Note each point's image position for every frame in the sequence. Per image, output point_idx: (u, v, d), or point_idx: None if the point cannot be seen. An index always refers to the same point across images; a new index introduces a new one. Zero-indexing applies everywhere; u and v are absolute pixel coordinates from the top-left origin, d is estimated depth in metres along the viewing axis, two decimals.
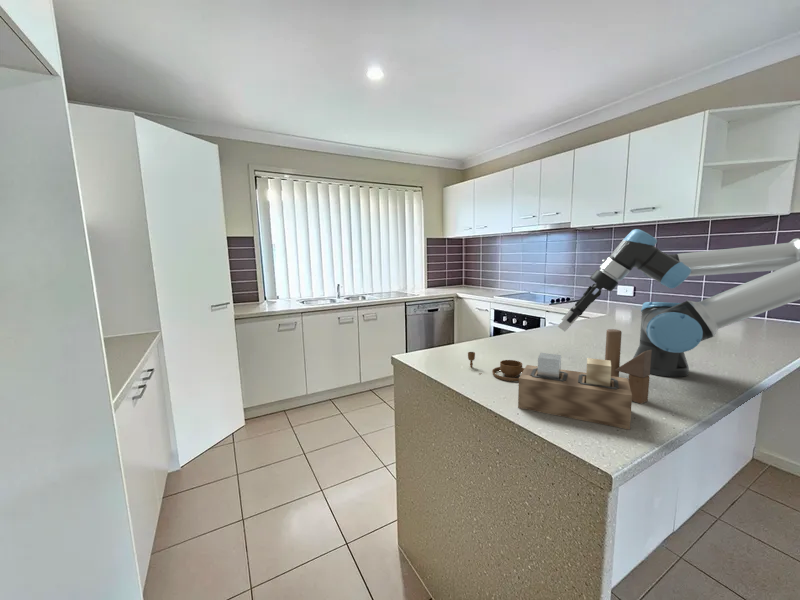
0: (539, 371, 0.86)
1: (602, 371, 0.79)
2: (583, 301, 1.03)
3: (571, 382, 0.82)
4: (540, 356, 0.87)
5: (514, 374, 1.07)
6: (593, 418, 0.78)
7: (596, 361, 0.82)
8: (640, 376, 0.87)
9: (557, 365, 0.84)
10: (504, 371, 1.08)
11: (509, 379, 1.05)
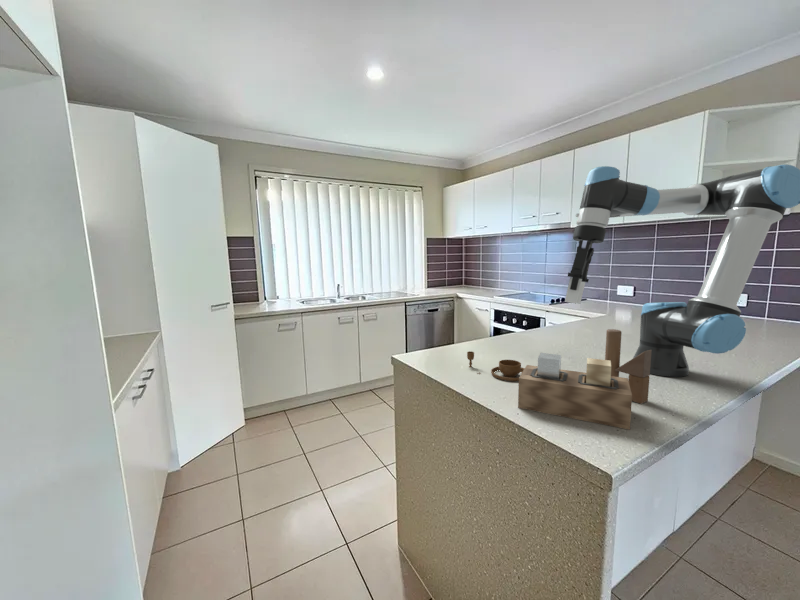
0: (539, 371, 0.86)
1: (602, 371, 0.79)
2: (576, 258, 0.85)
3: (571, 382, 0.82)
4: (540, 356, 0.87)
5: (513, 374, 1.07)
6: (593, 418, 0.78)
7: (596, 361, 0.82)
8: (640, 376, 0.87)
9: (557, 365, 0.84)
10: (503, 371, 1.08)
11: (507, 379, 1.05)
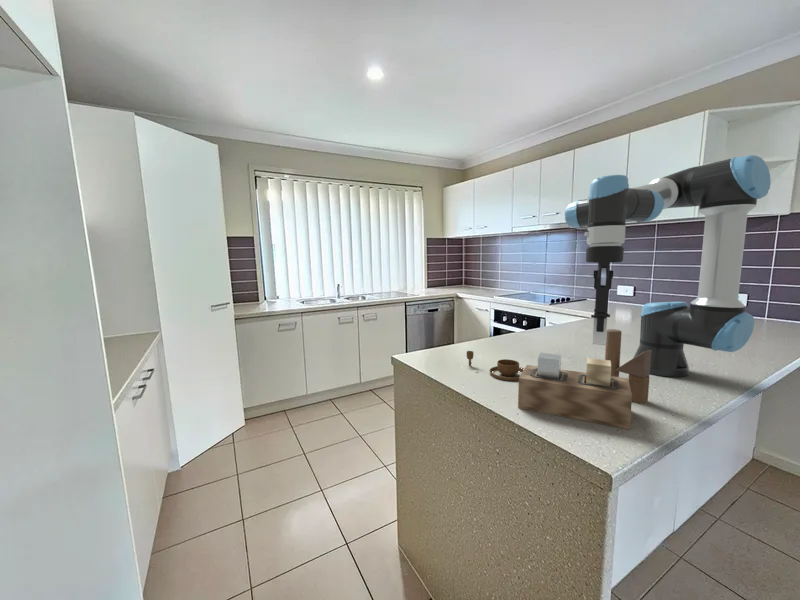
0: (539, 371, 0.86)
1: (602, 371, 0.79)
2: (597, 300, 0.76)
3: (571, 382, 0.82)
4: (540, 356, 0.87)
5: (510, 373, 1.08)
6: (593, 418, 0.78)
7: (596, 361, 0.82)
8: (640, 376, 0.87)
9: (557, 365, 0.84)
10: (501, 370, 1.09)
11: (505, 378, 1.06)
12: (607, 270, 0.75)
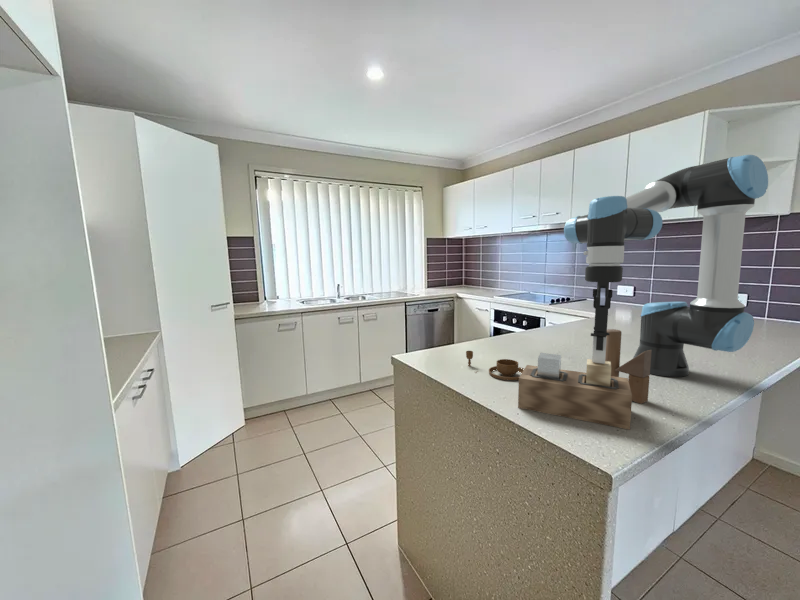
0: (539, 371, 0.86)
1: (602, 373, 0.79)
2: (597, 319, 0.76)
3: (571, 382, 0.82)
4: (540, 356, 0.87)
5: (509, 373, 1.08)
6: (593, 418, 0.78)
7: None
8: (640, 376, 0.87)
9: (557, 365, 0.84)
10: (500, 370, 1.09)
11: (504, 378, 1.06)
12: (606, 290, 0.75)
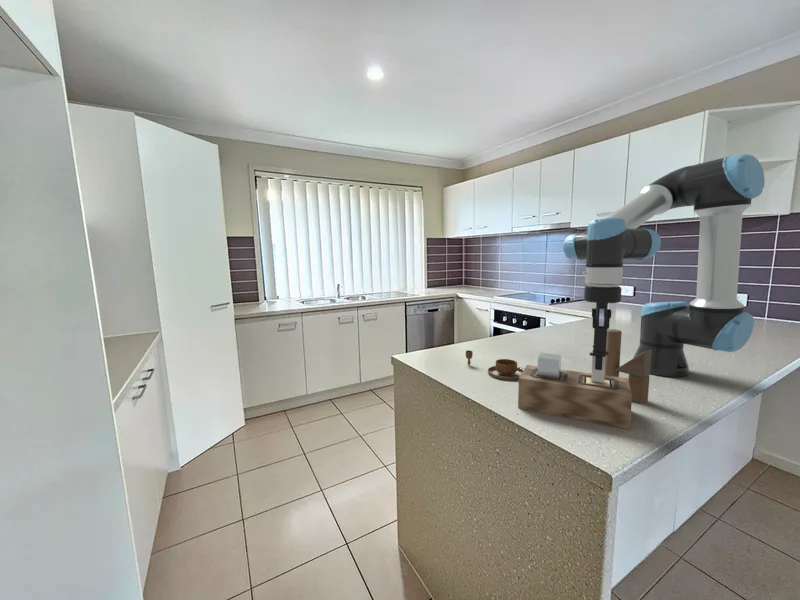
0: (539, 371, 0.86)
1: None
2: (596, 340, 0.77)
3: (571, 382, 0.82)
4: (540, 356, 0.87)
5: (508, 373, 1.08)
6: (593, 418, 0.78)
7: None
8: (640, 376, 0.87)
9: (557, 365, 0.84)
10: (498, 370, 1.10)
11: (502, 378, 1.06)
12: (605, 311, 0.76)
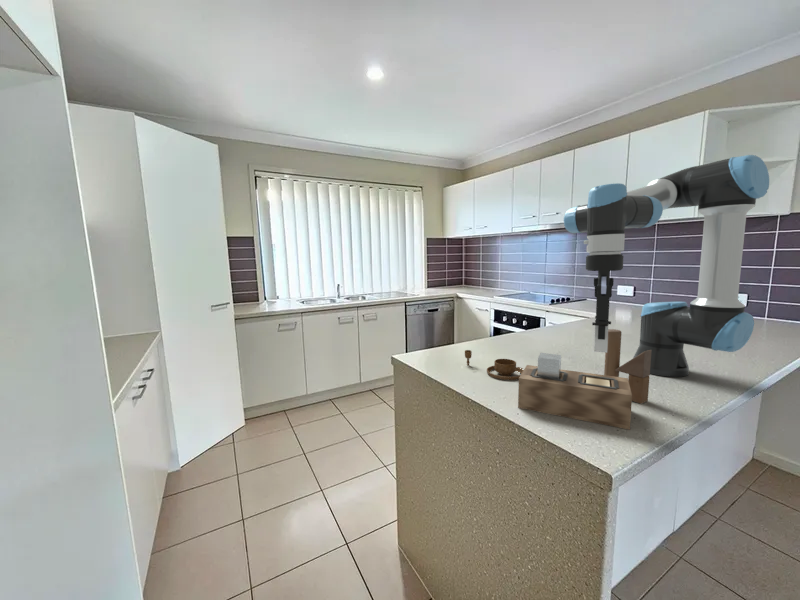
0: (539, 371, 0.86)
1: None
2: (598, 308, 0.76)
3: (571, 382, 0.82)
4: (540, 356, 0.87)
5: (507, 373, 1.08)
6: (593, 418, 0.78)
7: (595, 381, 0.82)
8: (640, 376, 0.87)
9: (557, 365, 0.84)
10: (497, 369, 1.10)
11: (501, 377, 1.06)
12: (607, 279, 0.75)
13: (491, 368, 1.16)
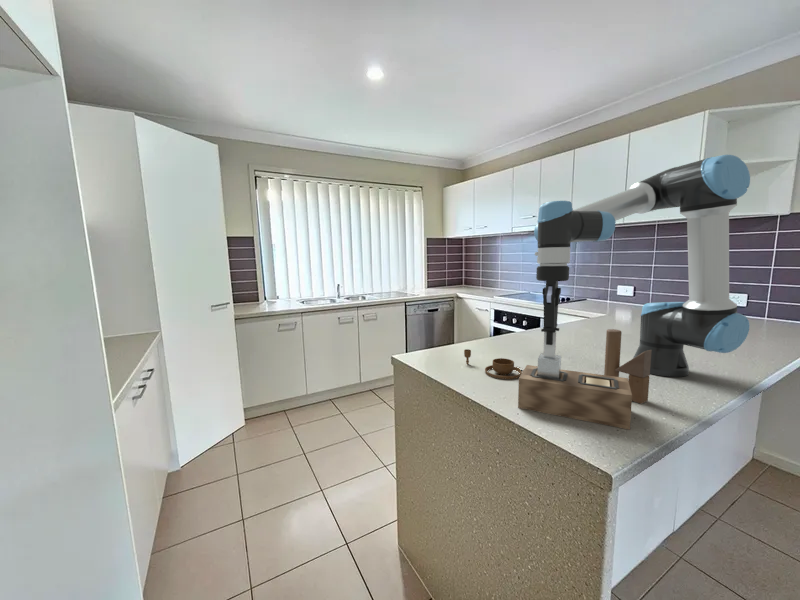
0: (539, 372, 0.86)
1: None
2: (545, 316, 0.82)
3: (571, 382, 0.82)
4: (540, 357, 0.87)
5: (505, 372, 1.09)
6: (593, 418, 0.78)
7: (595, 381, 0.82)
8: (640, 376, 0.87)
9: (557, 366, 0.84)
10: (495, 369, 1.11)
11: (498, 377, 1.07)
12: (553, 288, 0.81)
13: (490, 367, 1.17)
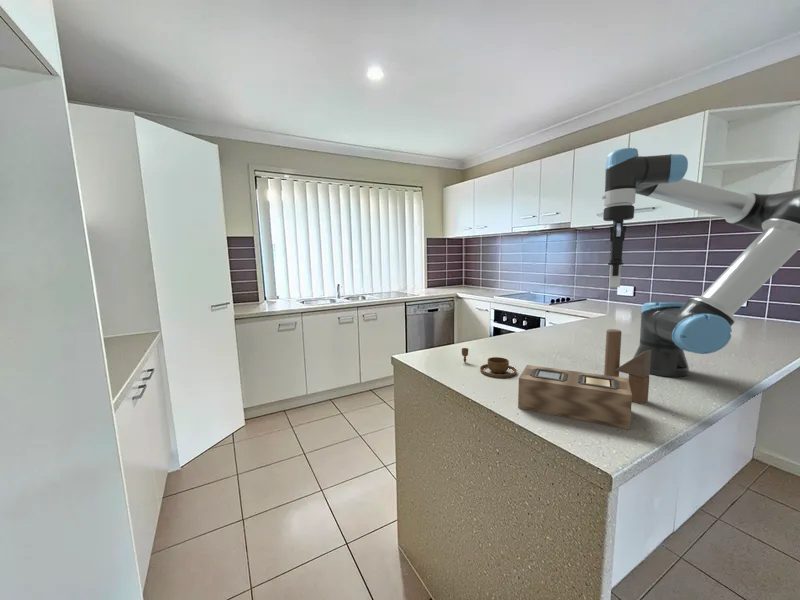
0: None
1: None
2: (614, 249, 0.95)
3: (571, 382, 0.82)
4: (539, 375, 0.87)
5: (499, 371, 1.11)
6: (593, 418, 0.78)
7: (595, 381, 0.82)
8: (640, 376, 0.87)
9: None
10: (490, 367, 1.12)
11: (492, 375, 1.09)
12: (621, 224, 0.94)
13: (486, 366, 1.18)
